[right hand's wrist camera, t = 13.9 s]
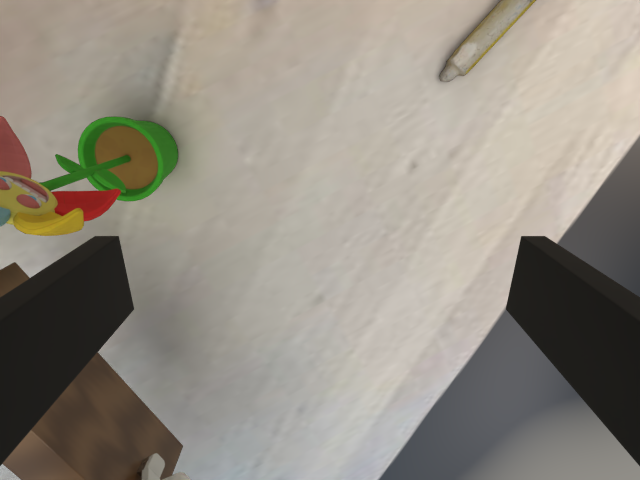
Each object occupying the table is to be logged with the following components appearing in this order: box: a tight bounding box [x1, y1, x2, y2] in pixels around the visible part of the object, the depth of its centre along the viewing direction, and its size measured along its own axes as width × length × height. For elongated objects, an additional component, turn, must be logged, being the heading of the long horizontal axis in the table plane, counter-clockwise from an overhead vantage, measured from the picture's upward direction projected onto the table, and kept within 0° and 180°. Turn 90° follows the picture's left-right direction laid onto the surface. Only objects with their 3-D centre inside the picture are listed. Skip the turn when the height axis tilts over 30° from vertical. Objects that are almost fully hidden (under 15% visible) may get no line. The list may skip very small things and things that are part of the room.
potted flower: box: [0, 116, 178, 236], centre depth 29 cm, size 9×8×25 cm
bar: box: [0, 262, 183, 480], centre depth 34 cm, size 26×5×10 cm, turn 28°
